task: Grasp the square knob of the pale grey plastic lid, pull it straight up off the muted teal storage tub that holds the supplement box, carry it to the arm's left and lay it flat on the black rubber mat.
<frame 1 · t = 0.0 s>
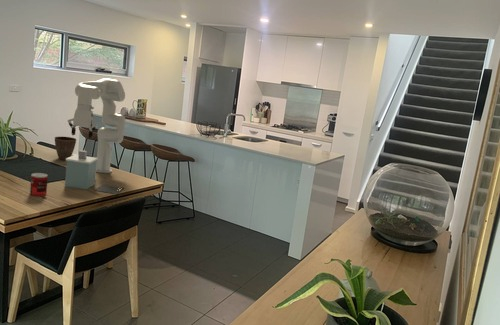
hand: (81, 136, 227), 31 cm above the table, tool pointing down, fingers open, 9 cm apart
plant pot: (64, 159, 292), on the table
tub: (80, 185, 236), on the table
canned food: (38, 194, 209), on the table
light bulb box: (85, 178, 252), on the table
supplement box: (80, 185, 236), resting in tub
lid: (82, 159, 233), point 16 cm above the table, touching tub
mat: (109, 189, 238), on the table
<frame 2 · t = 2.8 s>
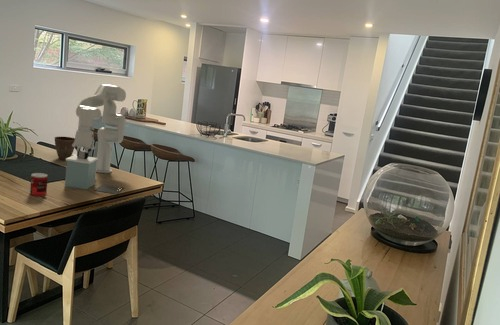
hand: (82, 157, 233), 17 cm above the table, tool pointing down, fingers closed on lid, 3 cm apart
lid: (82, 159, 233), point 16 cm above the table, touching gripper, tub
everything else where it was.
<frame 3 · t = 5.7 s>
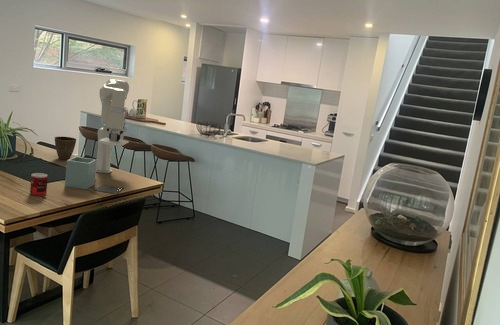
hand: (114, 140, 232), 31 cm above the table, tool pointing down, fingers closed on lid, 3 cm apart
lid: (114, 142, 232), point 30 cm above the table, touching gripper
everything else where it was.
when the fingers open (4 cm above the table, at t = 9.2 s): lid drops 2 cm, resting on mat.
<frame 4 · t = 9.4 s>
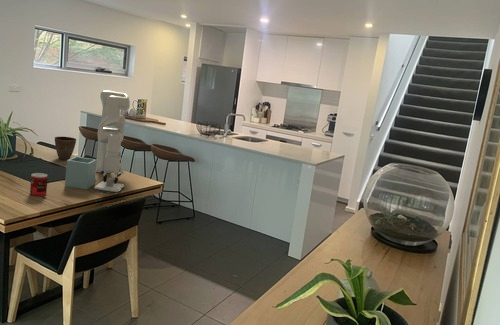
hand: (110, 182, 237), 5 cm above the table, tool pointing down, fingers open, 5 cm apart
lid: (109, 187, 237), point 1 cm above the table, touching mat
everything else where it was.
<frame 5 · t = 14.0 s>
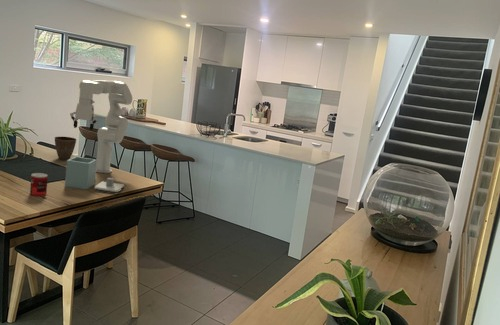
hand: (83, 128, 241), 33 cm above the table, tool pointing down, fingers open, 9 cm apart
nothing on the table moved.
at the end: lid inside the target area on the mat (0.1 cm from its centre), point 1.4 cm above the mat's base; lid tilted 0°; lid touching mat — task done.
